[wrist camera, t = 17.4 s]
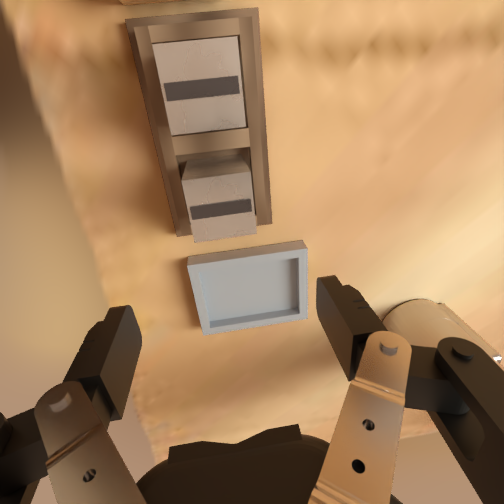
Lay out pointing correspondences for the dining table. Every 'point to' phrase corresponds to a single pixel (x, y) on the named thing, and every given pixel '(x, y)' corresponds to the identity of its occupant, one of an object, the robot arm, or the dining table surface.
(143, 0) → the grey button housing
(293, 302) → the tray
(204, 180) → the block
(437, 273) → the dining table surface
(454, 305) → the dining table surface
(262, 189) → the frame
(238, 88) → the block
